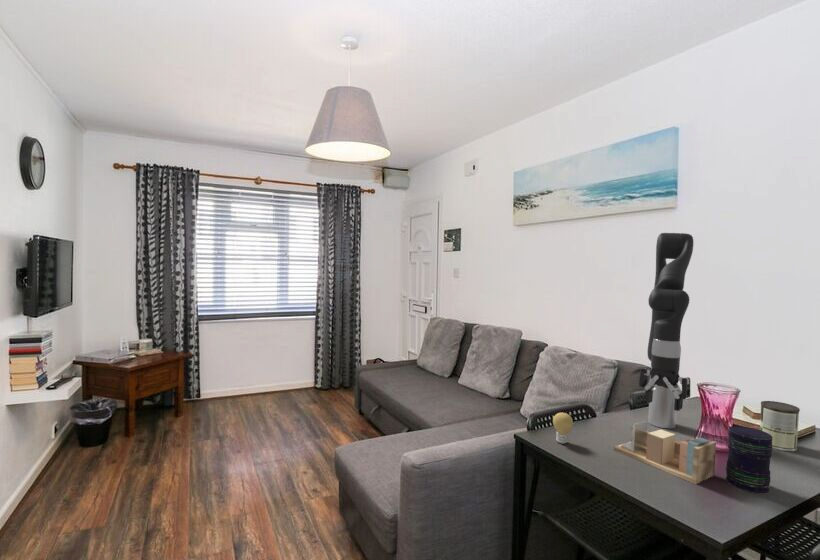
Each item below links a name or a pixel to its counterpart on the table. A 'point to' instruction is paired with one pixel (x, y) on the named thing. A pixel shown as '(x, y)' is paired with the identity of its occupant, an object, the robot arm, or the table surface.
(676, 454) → the rack
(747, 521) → the table surface
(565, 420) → the light bulb
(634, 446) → the bookend
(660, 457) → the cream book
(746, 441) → the storage jar
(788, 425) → the coffee can
